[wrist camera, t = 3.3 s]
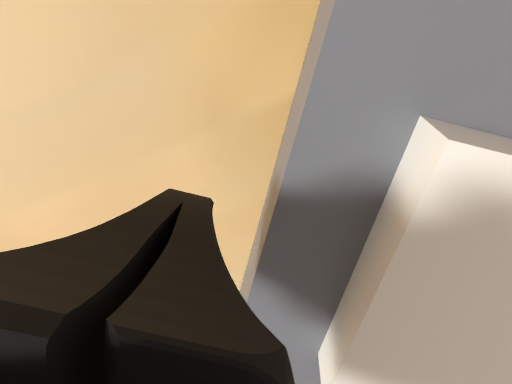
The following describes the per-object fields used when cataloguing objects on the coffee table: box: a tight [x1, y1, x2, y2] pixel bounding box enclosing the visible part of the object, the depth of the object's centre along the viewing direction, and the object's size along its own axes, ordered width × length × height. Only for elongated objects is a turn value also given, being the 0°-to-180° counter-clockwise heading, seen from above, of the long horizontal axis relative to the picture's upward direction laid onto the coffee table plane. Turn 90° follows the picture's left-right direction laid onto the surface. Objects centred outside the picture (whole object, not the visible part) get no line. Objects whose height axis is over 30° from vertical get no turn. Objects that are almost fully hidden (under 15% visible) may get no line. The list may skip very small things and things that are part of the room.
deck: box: [240, 0, 512, 384], centre depth 14 cm, size 20×14×4 cm
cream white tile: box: [318, 116, 512, 384], centre depth 12 cm, size 9×6×2 cm, turn 167°
